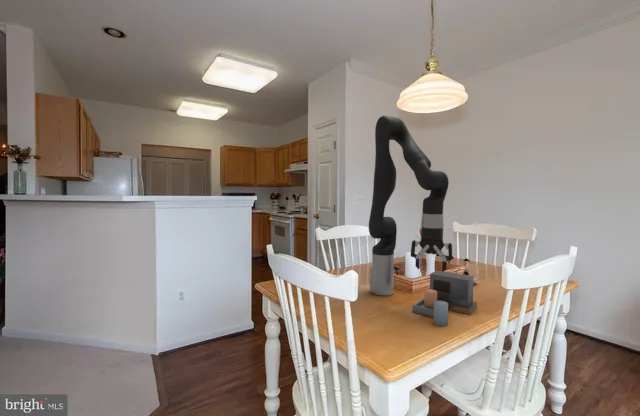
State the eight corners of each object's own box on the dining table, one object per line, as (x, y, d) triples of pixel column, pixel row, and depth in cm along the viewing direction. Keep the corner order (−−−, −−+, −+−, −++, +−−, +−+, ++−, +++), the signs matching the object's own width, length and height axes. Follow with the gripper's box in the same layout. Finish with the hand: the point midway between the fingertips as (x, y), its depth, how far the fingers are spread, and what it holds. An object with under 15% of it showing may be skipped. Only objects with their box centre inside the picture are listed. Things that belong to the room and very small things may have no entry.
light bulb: (477, 257, 152) (454, 255, 155) (479, 261, 142) (455, 259, 146) (476, 281, 152) (454, 279, 156) (478, 287, 143) (454, 284, 147)
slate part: (431, 323, 103) (432, 303, 103) (436, 319, 106) (436, 299, 106) (445, 327, 100) (445, 306, 100) (449, 322, 103) (450, 302, 103)
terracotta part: (422, 310, 113) (422, 291, 113) (426, 306, 116) (427, 288, 116) (434, 313, 110) (434, 293, 110) (438, 309, 114) (438, 290, 113)
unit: (425, 304, 121) (426, 274, 120) (434, 297, 128) (435, 269, 128) (469, 314, 110) (470, 281, 110) (476, 306, 118) (477, 276, 117)
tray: (412, 311, 113) (412, 305, 113) (422, 304, 120) (422, 298, 120) (438, 318, 107) (438, 311, 107) (447, 310, 114) (447, 304, 114)
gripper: (410, 226, 111) (409, 270, 112) (453, 228, 106) (451, 274, 107) (412, 223, 118) (411, 265, 119) (453, 226, 113) (451, 269, 114)
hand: (430, 269), depth 113 cm, fingers open, 8 cm apart
